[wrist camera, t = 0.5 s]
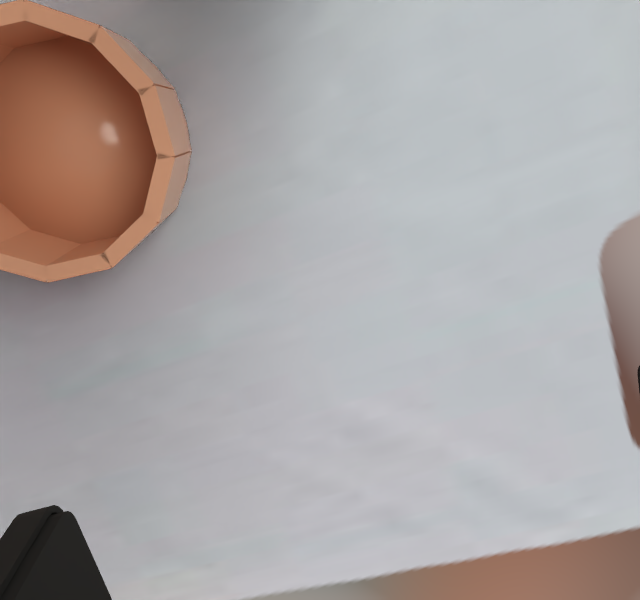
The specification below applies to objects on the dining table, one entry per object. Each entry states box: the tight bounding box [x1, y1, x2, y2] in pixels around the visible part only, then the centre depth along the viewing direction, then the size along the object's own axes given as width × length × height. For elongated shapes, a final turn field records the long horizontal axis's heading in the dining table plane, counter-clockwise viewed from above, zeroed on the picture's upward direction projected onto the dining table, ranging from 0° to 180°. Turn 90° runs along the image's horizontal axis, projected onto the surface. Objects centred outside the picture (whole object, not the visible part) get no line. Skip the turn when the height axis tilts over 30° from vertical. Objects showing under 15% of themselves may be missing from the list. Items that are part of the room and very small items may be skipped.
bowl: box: [0, 0, 192, 282], centre depth 38 cm, size 15×15×8 cm
